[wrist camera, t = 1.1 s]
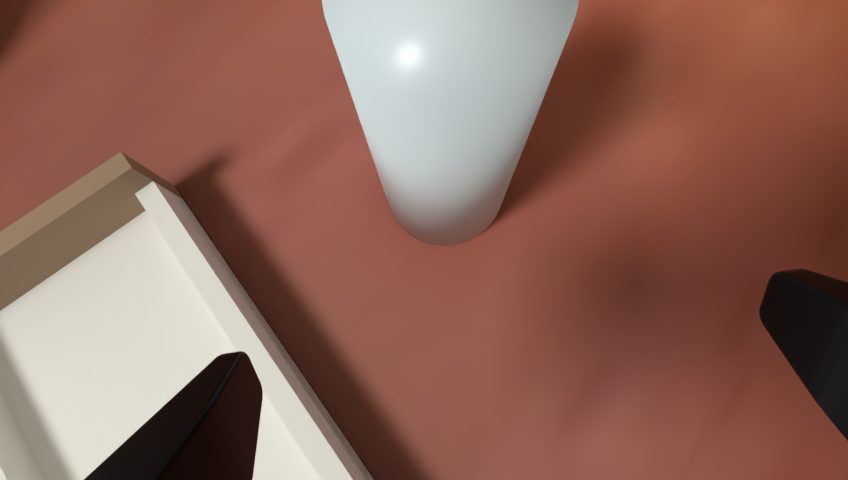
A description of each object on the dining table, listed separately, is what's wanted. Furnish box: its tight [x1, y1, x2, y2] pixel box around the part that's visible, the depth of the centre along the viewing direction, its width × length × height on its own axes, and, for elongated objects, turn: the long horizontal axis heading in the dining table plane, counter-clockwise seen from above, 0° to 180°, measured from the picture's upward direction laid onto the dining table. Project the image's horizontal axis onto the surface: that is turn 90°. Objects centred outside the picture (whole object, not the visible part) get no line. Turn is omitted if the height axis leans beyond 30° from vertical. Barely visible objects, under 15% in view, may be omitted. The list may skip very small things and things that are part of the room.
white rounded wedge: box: [322, 0, 579, 245], centre depth 17 cm, size 6×6×13 cm
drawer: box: [0, 152, 374, 480], centre depth 19 cm, size 20×12×4 cm, turn 38°
